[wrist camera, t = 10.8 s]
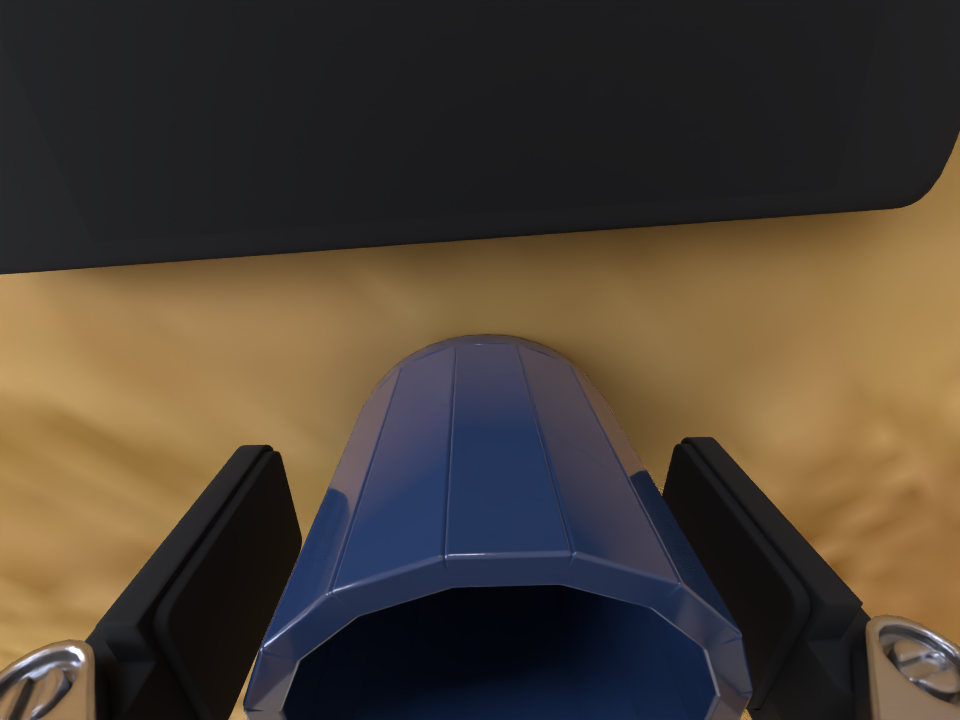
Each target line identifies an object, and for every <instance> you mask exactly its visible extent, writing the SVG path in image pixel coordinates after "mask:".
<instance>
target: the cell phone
mask: <svg viewBox="0 0 960 720" xmlns="http://www.w3.org/2000/svg"><path fill="white" fill-rule="evenodd" d="M959 132H960V0H0V274H14V273H29V272H42V271H56V270H69V269H83V268H96V267H110V266H124V265H137V264H151V263H164V262H178V261H191V260H205V259H218V258H232V257H246V256H259V255H273V254H286V253H300V252H313V251H327V250H340V249H354V248H368V247H381V246H395V245H408V244H422V243H435V242H449V241H462V240H476V239H490V238H503V237H517V236H530V235H544V234H557V233H571V232H584V231H598V230H612V229H625V228H639V227H652V226H666V225H679V224H693V223H706V222H720V221H734V220H747V219H761V218H774V217H788V216H801V215H815V214H829V213H842V212H856V211H869V210H883V209H894V208H902V207H905V206H908V205H911V204H913V203H915V202H916V201H918V200H920V199H921V198H922V197H923V196H924V195H925V194H926V193H928V192H929V191H930V190H931V188H932V187H933V185H934V184H935V182H936V181H937V180H938V178H939V177H940V175H941V174H942V171H943V169H944V167H945V165H946V163H947V161H948V159H949V157H950V155H951V153H952V150H953V148H954V145H955V142H956V140H957V137H958V134H959Z"/></svg>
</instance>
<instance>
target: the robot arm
mask: <svg viewBox="0 0 960 720" xmlns="http://www.w3.org/2000/svg"><path fill="white" fill-rule="evenodd" d="M662 497H663V499H664V501H665V503H666V504H667V506H668V508H669V509H670V511H671V513H672V515H673V516H674V518H675V520H676V521H677V523H678V525H679V527H680V528H681V530H682V532H683V533H684V535H685V537H686V538H687V540H688V542H689V544H690V545H691V547H692V549H693V550H694V552H695V554H696V556H697V557H698V559H699V561H700V562H701V564H702V566H703V568H704V569H705V571H706V573H707V574H708V576H709V578H710V580H711V581H712V583H713V585H714V586H715V588H716V590H717V591H718V593H719V595H720V597H721V598H722V600H723V602H724V603H725V605H726V607H727V609H728V610H729V612H730V614H731V615H732V617H733V619H734V621H735V622H736V624H737V626H738V627H739V629H740V631H741V632H742V636H743V641H744V645H745V649H746V654H747V658H748V663H749V667H750V672H751V676H752V681H753V686H754V689H753V695H752V696H751V698H750V700H749V702H748V704H747V706H746V708H745V709H747V710H748V712H749V714H750V716H751V718H752V720H960V647H959V646H958V645H956V644H955V643H953V642H952V641H950V640H949V639H947V638H946V637H944V636H943V635H942V634H940V633H938V632H936V631H934V630H932V629H930V628H928V627H927V626H925V625H923V624H921V623H918V622H915V621H912V620H910V619H907V618H904V617H900V616H893V615H880V616H874V617H873V618H872V619H871V618H870V617H869V616H868V615H867V614H866V613H865V611H864V610H863V609H862V608H861V606H862V604H863V603H862V602H861V601H860V599H859V598H858V597H857V596H856V595H855V594H854V593H853V592H852V591H851V589H850V588H849V587H848V586H847V585H846V584H845V583H844V582H843V581H842V580H841V578H840V577H839V576H838V575H837V574H836V573H835V572H834V571H833V570H832V568H831V567H830V566H829V565H828V564H827V563H826V562H825V561H824V560H823V558H822V557H821V556H820V555H819V554H818V553H817V552H816V551H815V550H814V548H813V547H812V546H811V545H810V544H809V543H808V542H807V541H806V540H805V539H804V537H803V536H802V535H801V534H800V533H799V532H798V531H797V530H796V529H795V527H794V526H793V525H792V524H791V523H790V522H789V521H788V520H787V519H786V517H785V516H784V515H783V514H782V513H781V512H780V511H779V510H778V509H777V508H776V506H775V505H774V504H773V503H772V502H771V501H770V500H769V499H768V498H767V496H766V495H765V494H764V493H763V492H762V491H761V490H760V489H759V488H758V486H757V485H756V484H755V483H754V482H753V481H752V480H751V479H750V478H749V476H748V475H747V474H746V473H745V472H744V471H743V470H742V469H741V468H740V467H739V465H738V464H737V463H736V462H735V461H734V460H733V459H732V458H731V457H730V455H729V454H728V453H727V452H726V451H725V450H724V449H723V448H722V447H721V445H720V444H719V443H718V442H717V441H716V440H715V439H714V438H711V437H686V438H684V439H683V440H682V441H681V444H676V446H675V447H674V450H673V454H672V458H671V462H670V466H669V470H668V474H667V478H666V482H665V486H664V490H663V494H662ZM301 546H302V536H301V532H300V528H299V524H298V520H297V516H296V512H295V508H294V504H293V500H292V496H291V493H290V489H289V485H288V481H287V477H286V473H285V469H284V465H283V461H282V457H281V455H280V453H279V452H277V451H273V448H272V447H271V446H269V445H243V446H240V447H239V448H238V449H237V450H236V452H235V453H234V454H233V455H232V457H231V458H230V459H229V460H228V462H227V463H226V464H225V465H224V466H223V468H222V469H221V470H220V471H219V473H218V474H217V475H216V476H215V478H214V479H213V480H212V481H211V483H210V484H209V485H208V486H207V488H206V489H205V490H204V491H203V493H202V494H201V495H200V496H199V498H198V499H197V500H196V501H195V503H194V504H193V505H192V506H191V508H190V509H189V510H188V511H187V513H186V514H185V515H184V516H183V518H182V519H181V520H180V521H179V523H178V524H177V525H176V526H175V528H174V529H173V530H172V531H171V533H170V534H169V535H168V536H167V538H166V539H165V540H164V541H163V543H162V544H161V545H160V546H159V548H158V549H157V550H156V551H155V553H154V554H153V555H152V556H151V558H150V559H149V560H148V561H147V563H146V564H145V565H144V566H143V568H142V569H141V570H140V571H139V573H138V574H137V575H136V576H135V578H134V579H133V580H132V581H131V583H130V584H129V585H128V586H127V588H126V589H125V590H124V591H123V593H122V594H121V595H120V596H119V598H118V599H117V600H116V601H115V603H114V604H113V605H112V606H111V608H110V609H109V610H108V611H107V613H106V614H105V615H104V616H103V618H102V619H101V620H100V621H99V623H98V624H97V625H96V628H95V629H94V631H93V632H92V633H91V634H90V636H89V637H88V638H87V639H86V641H85V642H84V641H80V640H65V641H60V642H55V643H51V644H48V645H46V646H44V647H41V648H39V649H36V650H34V651H32V652H30V653H28V654H26V655H25V656H23V657H21V658H19V659H18V660H16V661H14V662H12V663H11V664H9V665H8V666H7V667H6V668H4V669H3V670H2V671H0V720H228V719H229V717H230V715H231V713H232V711H233V708H234V706H235V704H236V701H237V699H238V697H239V694H240V692H241V690H242V687H243V685H244V683H245V680H246V678H247V676H248V673H249V671H250V669H251V666H252V664H253V662H254V659H255V657H256V655H257V652H258V650H259V648H260V645H261V643H262V640H263V638H264V636H265V633H266V631H267V629H268V626H269V624H270V622H271V619H272V617H273V615H274V612H275V610H276V608H277V605H278V603H279V601H280V598H281V596H282V594H283V591H284V589H285V587H286V584H287V582H288V580H289V577H290V575H291V573H292V570H293V568H294V565H295V563H296V561H297V558H298V556H299V554H300V551H301Z"/></svg>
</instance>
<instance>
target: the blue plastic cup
mask: <svg viewBox="0 0 960 720" xmlns="http://www.w3.org/2000/svg"><path fill="white" fill-rule="evenodd" d="M753 689H754V686H753V681H752V676H751V672H750V667H749V663H748V658H747V654H746V649H745V645H744V641H743V636H742V632H741V631H740V629H739V627H738V626H737V624H736V622H735V621H734V619H733V617H732V615H731V614H730V612H729V610H728V609H727V607H726V605H725V603H724V602H723V600H722V598H721V597H720V595H719V593H718V591H717V590H716V588H715V586H714V585H713V583H712V581H711V580H710V578H709V576H708V574H707V573H706V571H705V569H704V568H703V566H702V564H701V562H700V561H699V559H698V557H697V556H696V554H695V552H694V550H693V549H692V547H691V545H690V544H689V542H688V540H687V538H686V537H685V535H684V533H683V532H682V530H681V528H680V527H679V525H678V523H677V521H676V520H675V518H674V516H673V515H672V513H671V511H670V509H669V508H668V506H667V504H666V503H665V501H664V499H663V497H662V496H661V494H660V492H659V491H658V489H657V487H656V486H655V484H654V482H653V480H652V479H651V477H650V475H649V474H648V472H647V470H646V468H645V467H644V465H643V463H642V462H641V460H640V458H639V456H638V455H637V453H636V451H635V450H634V448H633V446H632V444H631V443H630V441H629V439H628V438H627V436H626V434H625V433H624V431H623V429H622V427H621V426H620V424H619V422H618V421H617V419H616V417H615V415H614V414H613V412H612V410H611V409H610V407H609V405H608V403H607V402H606V400H605V398H604V397H603V396H602V395H601V394H600V393H599V392H598V391H597V390H596V388H595V386H594V385H593V383H592V382H591V381H590V380H589V378H588V377H587V376H586V375H585V374H584V373H583V371H582V370H580V369H579V368H578V367H577V366H576V365H575V364H573V363H572V362H571V361H570V360H569V359H567V358H565V357H564V356H562V355H561V354H559V353H558V352H556V351H554V350H552V349H550V348H547V347H545V346H543V345H541V344H538V343H535V342H532V341H529V340H526V339H522V338H517V337H511V336H505V335H489V334H483V335H469V336H462V337H457V338H452V339H447V340H444V341H441V342H438V343H435V344H432V345H430V346H427V347H425V348H423V349H421V350H419V351H417V352H415V353H413V354H412V355H410V356H409V357H407V358H405V359H404V360H402V361H401V362H399V363H398V364H397V365H396V366H395V367H394V368H392V369H391V370H390V371H389V372H388V373H387V374H386V375H385V376H384V377H383V378H382V380H381V381H380V382H379V383H378V384H377V385H376V387H375V388H374V390H373V392H372V393H371V395H370V396H369V398H368V400H367V401H366V402H365V404H364V405H363V408H362V410H361V412H360V415H359V417H358V419H357V422H356V424H355V426H354V429H353V431H352V433H351V436H350V438H349V440H348V443H347V445H346V447H345V450H344V452H343V454H342V457H341V459H340V461H339V464H338V466H337V468H336V471H335V473H334V475H333V478H332V480H331V483H330V485H329V487H328V490H327V492H326V494H325V497H324V499H323V501H322V504H321V506H320V508H319V511H318V513H317V515H316V518H315V520H314V522H313V525H312V527H311V529H310V532H309V534H308V536H307V539H306V541H305V543H304V546H303V548H302V550H301V553H300V555H299V557H298V560H297V562H296V564H295V567H294V569H293V571H292V574H291V576H290V578H289V581H288V583H287V585H286V588H285V590H284V592H283V595H282V597H281V599H280V602H279V604H278V607H277V609H276V611H275V614H274V616H273V618H272V621H271V623H270V625H269V628H268V630H267V632H266V635H265V637H264V639H263V642H262V644H261V646H260V649H259V652H258V656H257V659H256V662H255V665H254V668H253V672H252V675H251V678H250V681H249V685H248V688H247V691H246V694H245V698H244V701H243V706H244V712H245V715H246V717H247V719H248V720H740V718H741V716H742V714H743V712H744V710H745V708H746V706H747V704H748V702H749V700H750V698H751V696H752V695H753Z"/></svg>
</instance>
